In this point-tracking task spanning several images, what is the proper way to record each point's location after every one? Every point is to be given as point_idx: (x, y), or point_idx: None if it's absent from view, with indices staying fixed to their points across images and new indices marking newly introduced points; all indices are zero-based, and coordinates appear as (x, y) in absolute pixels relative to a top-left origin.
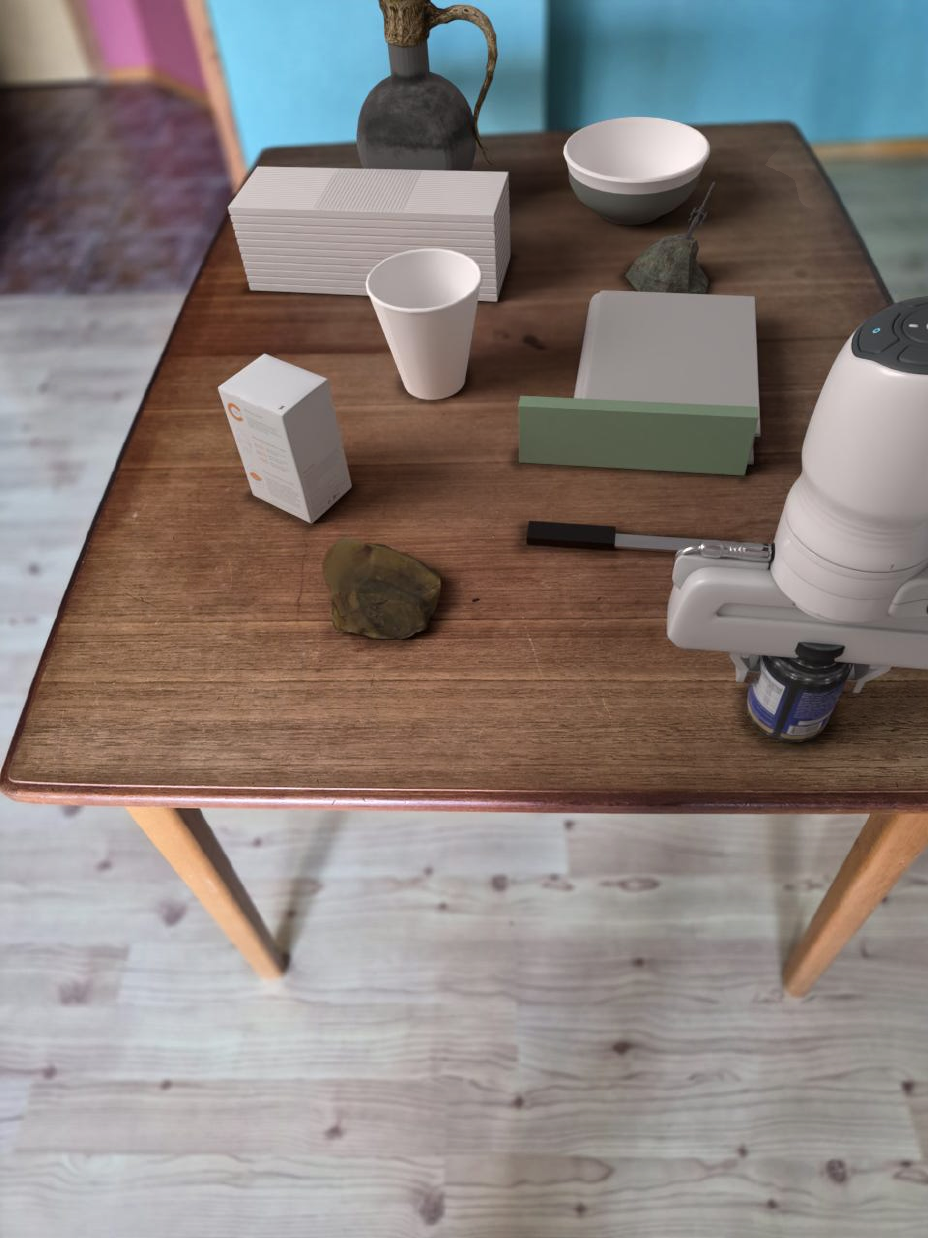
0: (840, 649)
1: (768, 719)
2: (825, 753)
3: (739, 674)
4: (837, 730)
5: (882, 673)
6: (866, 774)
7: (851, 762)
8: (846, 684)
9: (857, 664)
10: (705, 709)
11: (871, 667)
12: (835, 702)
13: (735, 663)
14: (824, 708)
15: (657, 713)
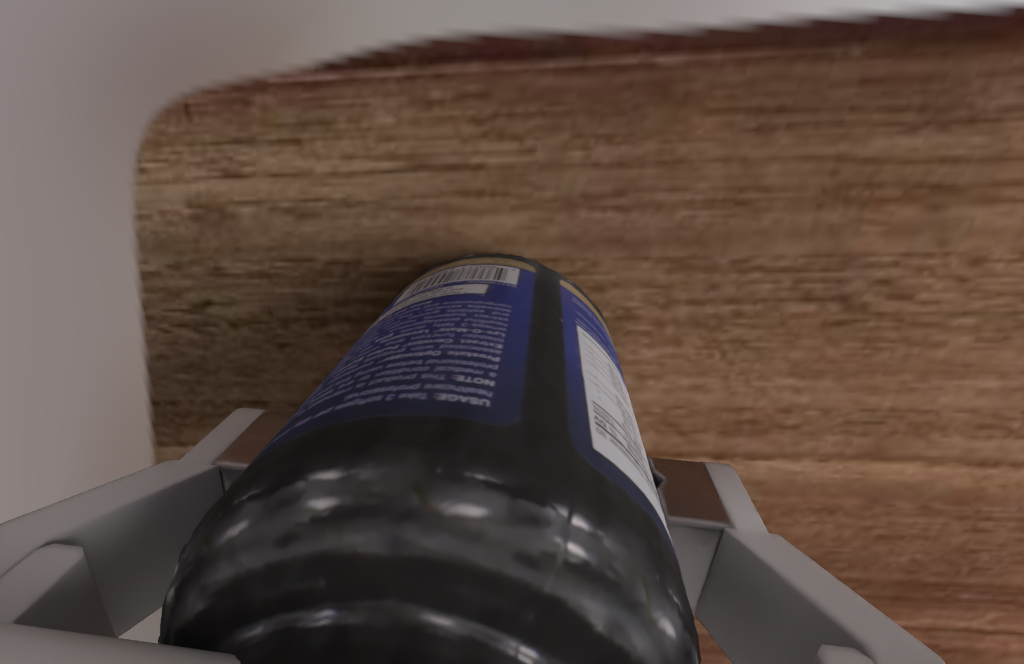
0: None
1: (585, 315)
2: (395, 223)
3: (752, 506)
4: (355, 302)
5: (39, 512)
6: (277, 148)
7: (320, 192)
8: None
9: None
10: (730, 370)
11: (67, 559)
12: (333, 369)
13: (842, 588)
14: (378, 337)
15: (889, 358)
